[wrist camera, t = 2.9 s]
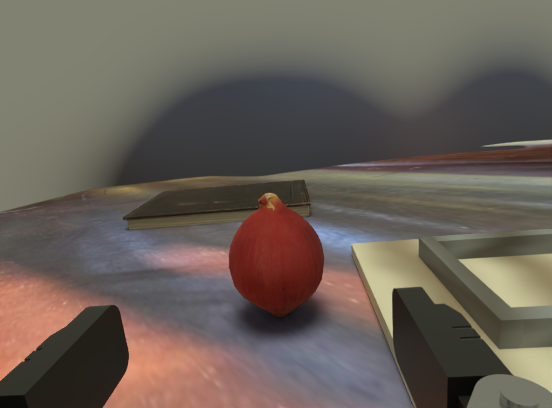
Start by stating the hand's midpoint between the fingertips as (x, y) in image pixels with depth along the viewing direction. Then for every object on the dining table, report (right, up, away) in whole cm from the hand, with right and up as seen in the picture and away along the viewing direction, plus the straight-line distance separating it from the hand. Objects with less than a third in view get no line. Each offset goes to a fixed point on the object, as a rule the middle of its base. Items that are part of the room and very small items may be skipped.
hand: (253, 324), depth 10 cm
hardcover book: (-6, +2, +41) cm, 42 cm away
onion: (+1, -4, +13) cm, 13 cm away
